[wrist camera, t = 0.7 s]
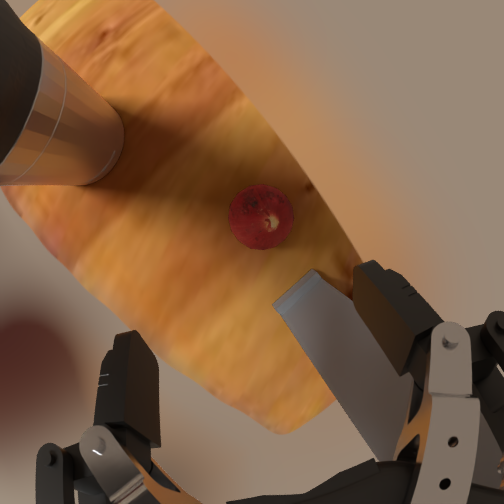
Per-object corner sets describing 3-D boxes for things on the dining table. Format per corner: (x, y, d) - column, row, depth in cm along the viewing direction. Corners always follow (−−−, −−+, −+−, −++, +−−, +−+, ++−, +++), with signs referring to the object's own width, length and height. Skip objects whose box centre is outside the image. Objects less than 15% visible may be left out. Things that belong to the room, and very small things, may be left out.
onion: (214, 206, 28) (219, 211, 20) (261, 174, 28) (283, 168, 21) (245, 252, 30) (262, 274, 22) (290, 221, 30) (321, 232, 22)
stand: (271, 304, 31) (463, 586, 1) (311, 268, 31) (578, 476, 1) (319, 353, 34) (473, 555, 3) (354, 321, 34) (541, 492, 3)
